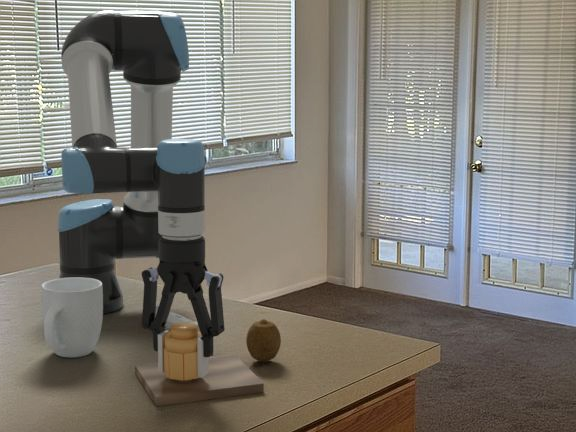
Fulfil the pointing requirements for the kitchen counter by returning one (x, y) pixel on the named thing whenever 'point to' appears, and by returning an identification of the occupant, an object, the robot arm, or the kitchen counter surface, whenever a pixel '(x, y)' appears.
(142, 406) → the kitchen counter surface
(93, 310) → the mug
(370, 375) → the kitchen counter surface
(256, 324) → the fruit
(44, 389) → the kitchen counter surface
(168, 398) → the post board
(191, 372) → the acorn cap nut
